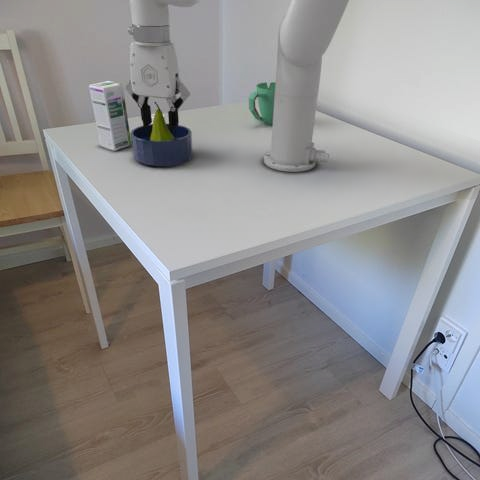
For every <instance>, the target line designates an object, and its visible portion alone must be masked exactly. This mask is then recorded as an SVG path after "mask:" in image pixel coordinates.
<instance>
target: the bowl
mask: <svg viewBox="0 0 480 480" xmlns="http://www.w3.org/2000/svg"><path fill="white" fill-rule="evenodd" d="M167 123H168V122H166V125H167V127H168V130H169V131H170V133H171V134H172V135H173V136H174V139H175V140H170V141H150V137H151V134H152V127H153V124H149V125H148V126H143V125H140V126H137V127H135V128H134V129H132V130H131V131H130V137H131V143H132V145H131V148H132V155H133V159H134V160H135V161H137V162H138V163H141V164H144V165H147V166H153V167H170V166H176V165H179V164H183V163H185V162H188V161H189V160H191V159H192V158H193V138H192V137H193V135H192V130H191V128H189V127H187V126H185V125H181V124H178V126H177V127H176V128H175V129H173V130H170V129H169V124H167Z"/></svg>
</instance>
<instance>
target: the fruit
mask: <svg viewBox="0 0 480 480" xmlns="http://www.w3.org/2000/svg"><path fill="white" fill-rule="evenodd" d="M153 102H154V104H155V105H156V107H157V109H156V110H155V113H154V114H155V116H154V120H153V127H152V134H151V137H150V141H170V140H175V139H174V136H173V135H172V134H171V133H170V131H169V130H168V127H167V125H166V123H167V122H166V119H165V120H164V117H163V115H164V114H163V111H162V110H161V108H160V106H159V105H158V103H157V102H156V101H153ZM165 122H166V123H165Z"/></svg>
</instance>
